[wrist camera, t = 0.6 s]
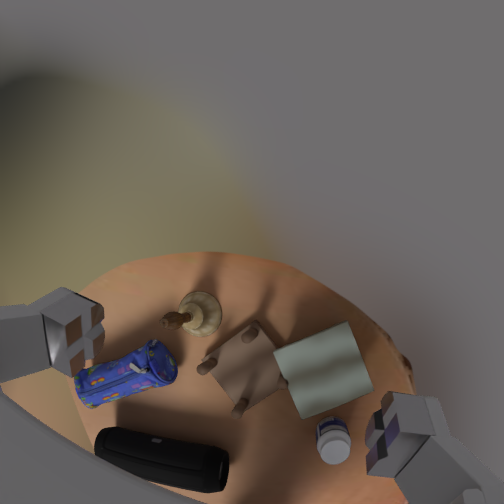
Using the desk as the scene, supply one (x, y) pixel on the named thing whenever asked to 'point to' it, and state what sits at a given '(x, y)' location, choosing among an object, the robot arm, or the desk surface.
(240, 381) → the upturned stool
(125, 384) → the pencil case
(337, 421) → the pill bottle
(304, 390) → the small table
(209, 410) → the desk surface
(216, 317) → the hand bell
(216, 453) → the portable speaker
